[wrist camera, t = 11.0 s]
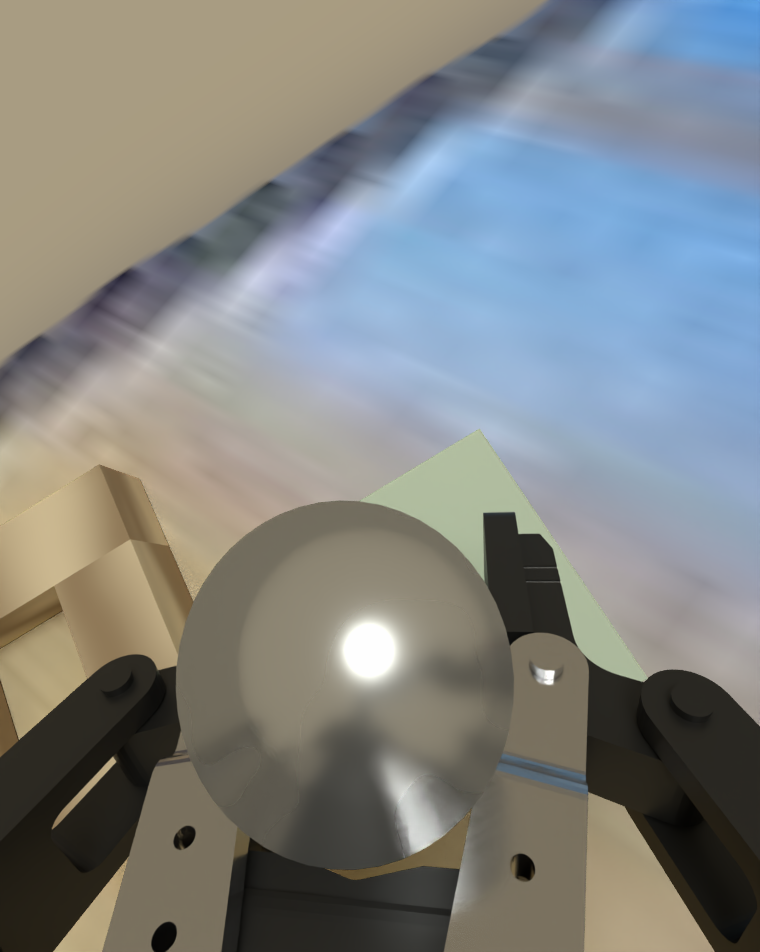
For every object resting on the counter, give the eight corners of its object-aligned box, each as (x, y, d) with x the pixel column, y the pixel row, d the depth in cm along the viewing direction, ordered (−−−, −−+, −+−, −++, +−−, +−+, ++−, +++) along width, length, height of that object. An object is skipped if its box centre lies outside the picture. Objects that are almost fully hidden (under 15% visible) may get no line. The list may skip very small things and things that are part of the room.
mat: (479, 433, 20) (479, 428, 20) (642, 676, 17) (647, 678, 17) (259, 565, 21) (252, 565, 20) (384, 824, 18) (381, 832, 17)
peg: (447, 546, 17) (397, 441, 6) (508, 646, 16) (590, 753, 5) (354, 601, 18) (128, 604, 6) (409, 704, 17) (262, 942, 5)
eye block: (139, 478, 22) (99, 464, 20) (259, 753, 19) (228, 776, 17) (-93, 622, 23) (-161, 624, 20) (-16, 915, 19) (-86, 960, 17)
